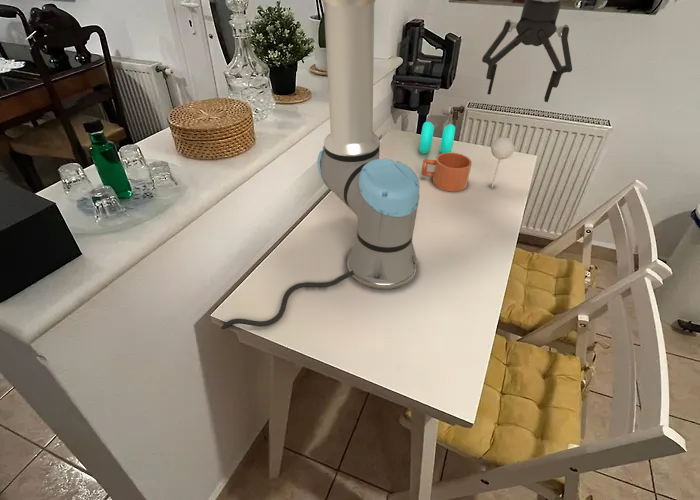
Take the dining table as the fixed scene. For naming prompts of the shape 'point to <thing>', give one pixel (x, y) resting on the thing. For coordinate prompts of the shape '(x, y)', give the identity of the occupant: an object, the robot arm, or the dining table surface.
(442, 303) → the dining table surface
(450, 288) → the dining table surface
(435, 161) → the mug
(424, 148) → the donuts
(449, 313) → the dining table surface
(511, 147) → the lollipop
